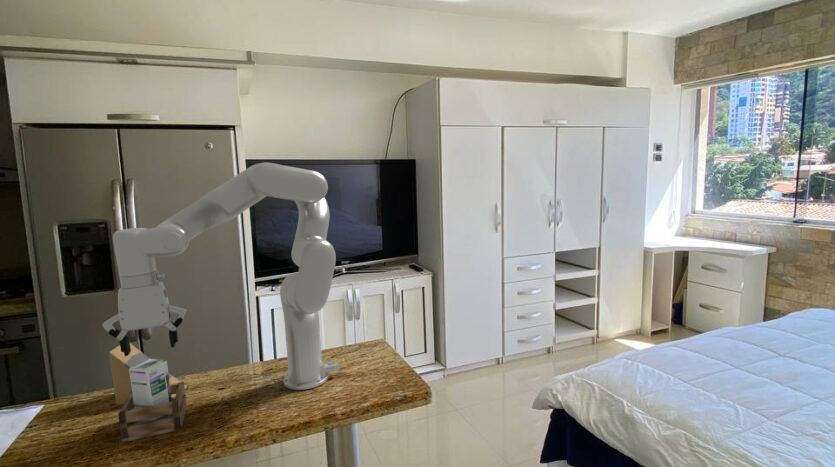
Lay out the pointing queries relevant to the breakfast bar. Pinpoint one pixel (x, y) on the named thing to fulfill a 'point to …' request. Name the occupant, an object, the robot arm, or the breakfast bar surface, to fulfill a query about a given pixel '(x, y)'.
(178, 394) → the crate
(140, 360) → the sandwich container
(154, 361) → the syrup box
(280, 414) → the breakfast bar surface
